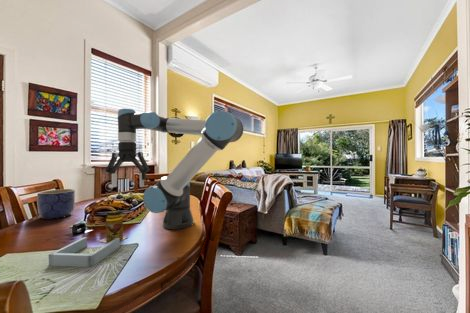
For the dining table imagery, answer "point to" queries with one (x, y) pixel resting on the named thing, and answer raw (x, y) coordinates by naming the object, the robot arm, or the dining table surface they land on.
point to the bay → (68, 257)
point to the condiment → (114, 226)
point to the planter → (56, 203)
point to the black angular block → (81, 231)
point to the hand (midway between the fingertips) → (128, 187)
